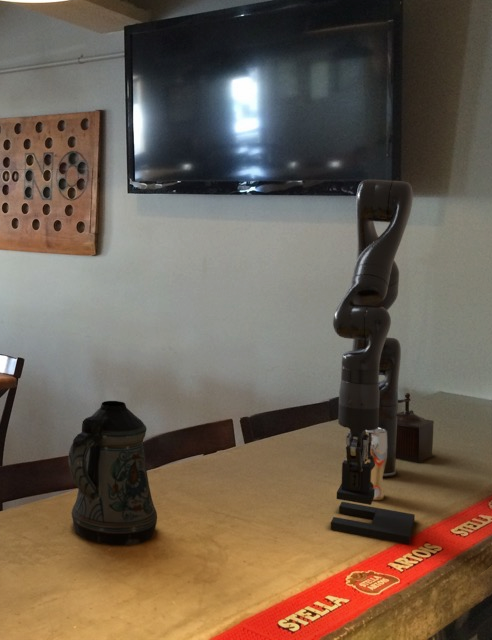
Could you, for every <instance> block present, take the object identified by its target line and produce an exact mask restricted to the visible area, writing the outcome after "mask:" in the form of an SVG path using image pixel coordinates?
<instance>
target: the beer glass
mask: <svg viewBox="0 0 492 640" xmlns="http://www.w3.org/2000/svg"><path fill="white" fill-rule="evenodd" d="M366 434H368V436H369V443H368V454H367V457H366V464H371V489H375V496H374V498H373V501H381V500H383V499H384V498H385V495H384V489H383V478H384V477H383V473H384V469H385V465H386V460H387V451H388V442H387V430H385V429H383V428H379V427H378V428H377V429H375V430H366Z"/></svg>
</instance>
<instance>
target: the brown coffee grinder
mask: <svg viewBox="0 0 492 640" xmlns="http://www.w3.org/2000/svg"><path fill="white" fill-rule="evenodd" d="M379 382H380V380H379ZM379 382H378V383H379ZM410 397H411V394H410V393H409V392H406V393H404V398H403V399H398V404H403V403H405V405H404V408H405V409H404V411H401V412H397V440H396V459H399V460H403V461H409V462H413V463H422V462H423V461H426V460H427V459H429V458H432V457H433V445H434V425H435V424H434V420H430V419H425V418H424V417H422V416H419V415H418V414H416V413H414V410H413V409H411V410H410V402H411V401H412V400H411V398H410Z"/></svg>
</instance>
